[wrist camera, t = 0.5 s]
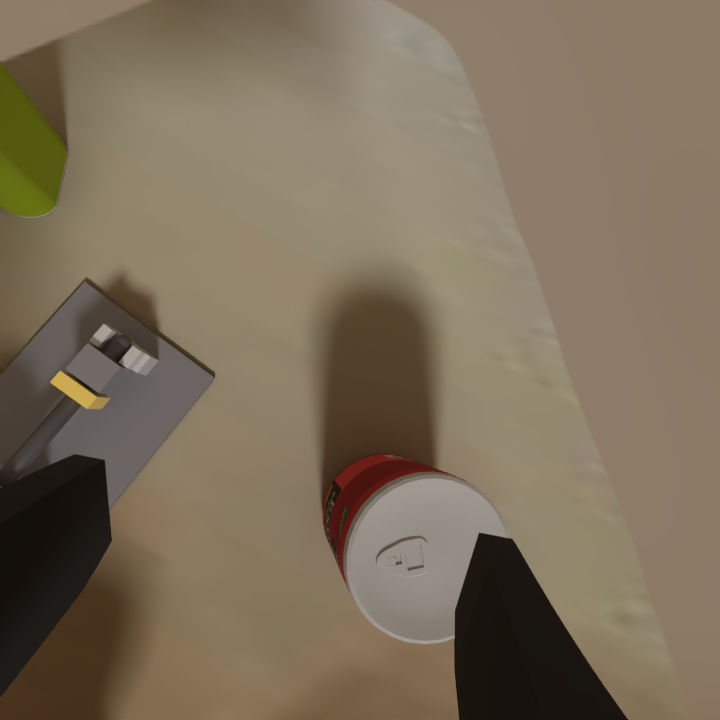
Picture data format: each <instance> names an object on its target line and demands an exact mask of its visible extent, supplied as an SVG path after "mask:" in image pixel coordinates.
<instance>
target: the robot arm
mask: <svg viewBox="0 0 720 720" xmlns="http://www.w3.org/2000/svg"><path fill="white" fill-rule="evenodd" d="M111 541H112V538H111V526H110V514H109V502H108V491H107V479H106V467H105V460H103V459H98V458H93V457H88V456H82V455H77V454H74V455H71V456H69V457H67V458H64V459H62V460H59V461H57V462H55V463H53V464H51V465H48V466H46V467H44V468H42V469H40V470H38V471H35V472H33V473H31V474H29V475H27V476H25V477H23V478H21V479H19V480H16V481H14V482H12V483H10V484H8V485H6V486H4V487H2V488H0V697H1V696H2V694H3V693H4V692H5V691H6V689H7V688H8V687H9V685H10V684H11V683H12V681H13V680H14V679H15V678H16V676H17V675H18V674H19V672H20V671H21V670H22V669H23V667H24V666H25V665H26V663H27V662H28V661H29V660H30V658H31V657H32V656H33V654H34V653H35V652H36V650H37V649H38V648H39V647H40V645H41V644H42V643H43V641H44V640H45V639H46V638H47V636H48V635H49V634H50V632H51V631H52V630H53V628H54V627H55V626H56V625H57V623H58V622H59V621H60V619H61V618H62V617H63V615H64V614H65V613H66V611H67V610H68V609H69V607H70V606H71V605H72V604H73V602H74V601H75V600H76V598H77V597H78V595H79V594H80V593H81V591H82V590H83V588H84V587H85V585H86V584H87V582H88V580H89V579H90V577H91V575H92V574H93V572H94V571H95V569H96V567H97V566H98V564H99V562H100V560H101V559H102V557H103V555H104V553H105V552H106V550H107V548H108V547H109V545H110V543H111ZM454 646H455V679H456V690H457V700H458V710H459V720H628V719H627V718H626V716H625V715H624V713H623V712H622V711H621V709H620V708H619V706H618V705H617V704H616V702H615V701H614V699H613V698H612V696H611V695H610V694H609V692H608V691H607V689H606V688H605V687H604V685H603V684H602V682H601V681H600V679H599V678H598V676H597V675H596V673H595V672H594V670H593V669H592V667H591V666H590V664H589V663H588V662H587V660H586V658H585V657H584V655H583V654H582V652H581V651H580V649H579V648H578V646H577V644H576V643H575V641H574V640H573V638H572V637H571V635H570V634H569V632H568V631H567V629H566V627H565V626H564V624H563V623H562V621H561V619H560V618H559V616H558V615H557V613H556V611H555V610H554V608H553V607H552V605H551V603H550V602H549V600H548V598H547V597H546V595H545V593H544V592H543V590H542V588H541V587H540V585H539V583H538V581H537V580H536V578H535V576H534V575H533V573H532V571H531V569H530V568H529V566H528V564H527V563H526V561H525V559H524V557H523V556H522V554H521V552H520V550H519V549H518V547H517V545H516V544H515V542H514V541H513V539H510V538H505V537H500V536H495V535H490V534H484V533H479V534H478V537H477V540H476V544H475V547H474V550H473V553H472V557H471V560H470V563H469V566H468V570H467V573H466V576H465V579H464V583H463V586H462V589H461V592H460V596H459V599H458V602H457V605H456V609H455V641H454Z"/></svg>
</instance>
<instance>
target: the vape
mask: <svg viewBox="0 0 720 720" xmlns="http://www.w3.org/2000/svg"><path fill="white" fill-rule="evenodd" d="M67 157H68V150H67V147H66V145H65V144H64V142H63V141H62V140H61V138H60V137H59V136H58V135H57V133H56V132H55V131H54V129H53V128H52V127H51V126H50V124H49V123H48V122H47V121H46V119H45V118H44V117H43V115H42V114H41V113H40V112H39V110H38V109H37V108H36V106H35V105H34V104H33V103H32V101H31V100H30V99H29V97H28V96H27V95H26V94H25V92H24V91H23V90H22V89H21V87H20V86H19V85H18V83H17V82H16V81H15V80H14V78H13V77H12V76H11V74H10V73H9V72H8V71H7V69H6V68H5V67H4V65H3V64H2V63H1V62H0V207H1V208H2V209H4V210H5V211H7V212H8V213H11V214H13V215H16V216H19V217H25V218H37V217H42V216H45V215H48V214H50V213H51V212H53V211H54V210H55V209H56V207H57V206H58V201H59V197H60V192H61V187H62V182H63V177H64V172H65V167H66V162H67Z"/></svg>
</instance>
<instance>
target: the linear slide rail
mask: <svg viewBox="0 0 720 720" xmlns="http://www.w3.org/2000/svg"><path fill="white" fill-rule="evenodd" d="M214 379H215V378H214V377H213V376H212V375H210V374H209V373H208V372H206V371H205V370H203V369H202V368H201V367H199V366H198V365H197V364H195V363H194V362H193V361H191V360H190V359H189V358H187V357H186V356H185V355H183V354H182V353H181V352H179V351H178V350H177V349H175V348H174V347H172V346H171V345H170V344H168V343H167V342H166V341H164V340H163V339H162V338H160V337H159V336H158V335H156V334H155V333H154V332H152V331H151V330H150V329H148V328H147V327H146V326H144V325H143V324H141V323H140V322H139V321H137V320H136V319H135V318H133V317H132V316H131V315H129V314H128V313H127V312H125V311H124V310H123V309H121V308H120V307H119V306H117V305H116V304H115V303H113V302H112V301H110V300H109V299H108V298H106V297H105V296H104V295H102V294H101V293H100V292H98V291H97V290H96V289H94V288H93V287H92V286H90V285H89V284H88V283H86V282H84V283H83V284H82V285H81V286H80V287H79V288H78V289H77V290H76V292H75V293H74V294H73V295H72V296H71V297H70V298H69V299H68V300H67V302H66V303H65V304H64V305H63V306H62V307H61V308H60V309H59V310H58V312H57V313H56V314H55V315H54V316H53V317H52V318H51V319H50V320H49V322H48V323H47V324H46V325H45V326H44V327H43V328H42V329H41V330H40V332H39V333H38V334H37V335H36V336H35V337H34V338H33V339H32V340H31V342H30V343H29V344H28V345H27V346H26V347H25V348H24V349H23V350H22V352H21V353H20V354H19V355H18V356H17V357H16V358H15V359H14V360H13V362H12V363H11V364H10V365H9V366H8V367H7V368H6V369H5V370H4V372H3V373H2V374H1V375H0V464H2V465H3V466H4V467H3V468H2V469H1V470H0V486H1V487H4V486H6V485H8V484H10V483H12V482H14V481H16V480H18V479H19V478H23V477H25V476H27V475H29V474H31V473H33V472H35V471H38V470H40V469H42V468H44V467H46V466H48V465H51V464H53V463H55V462H57V461H59V460H62V459H64V458H67V457H69V456H71V455H74V454H77V455H82V456H88V457H93V458H98V459H103V460H105V467H106V479H107V491H108V502H109V510H110V508H111V507H112V506H113V505H114V503H115V502H116V501H117V500H118V498H119V497H120V496H121V495H122V493H123V492H124V491H125V490H126V488H127V487H128V486H129V485H130V483H131V482H132V481H133V480H134V478H135V477H136V476H137V475H138V473H139V472H140V471H141V470H142V468H143V467H144V466H145V465H146V464H147V462H148V461H149V460H150V459H151V457H152V456H153V455H154V454H155V452H156V451H157V450H158V449H159V447H160V446H161V445H162V444H163V442H164V441H165V440H166V439H167V437H168V436H169V435H170V434H171V432H172V431H173V430H174V429H175V427H176V426H177V425H178V424H179V422H180V421H181V420H182V419H183V417H184V416H185V415H186V414H187V412H188V411H189V410H190V409H191V407H192V406H193V405H194V404H195V402H196V401H197V400H198V399H199V397H200V396H201V395H202V394H203V393H204V391H205V390H206V389H207V388H208V386H209V385H210V384H211V383H212V381H213V380H214Z"/></svg>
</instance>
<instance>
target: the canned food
mask: <svg viewBox="0 0 720 720" xmlns="http://www.w3.org/2000/svg"><path fill="white" fill-rule="evenodd" d="M323 525H324V530H325V535H326V537H327V540H328V542H329V544H330V547H331V549H332V552H333V554H334V557H335V559H336V562H337V564H338V566H339V569H340V571H341V574H342V576H343V579H344V581H345V583H346V585H347V588H348V590H349V592H350V594H351V596H352V598H353V600H354V602H355V603H356V605H357V606H358V608H359V609H360V610H361V612H362V613H363V614H364V615H365V617H366V618H367V619H368V620H369V621H370V622H371V623H372V624H374V625H375V626H376V627H377V628H378V629H379V630H381V631H383V632H384V633H386V634H388V635H390V636H391V637H393V638H396V639H400V640H403V641H406V642H409V643H420V644H430V643H439V642H444V641H447V640H450V639H453V638H455V609H456V605H457V602H458V599H459V596H460V592H461V589H462V586H463V583H464V579H465V576H466V573H467V570H468V566H469V563H470V560H471V557H472V553H473V550H474V547H475V544H476V540H477V537H478V534H479V533H484V534H490V535H495V536H500V537H505V538H509V535H508V531H507V527H506V525H505V523H504V521H503V518H502V516H501V514H500V512H499V511H498V510H497V508H496V507H495V505H494V504H493V503H492V501H491V500H490V499H489V498H488V497H487V496H486V495H485V494H484V493H482V492H481V491H480V490H479V489H477V488H476V487H475V486H473V485H472V484H470V483H468V482H467V481H465V480H463V479H461V478H458V477H456V476H454V475H451V474H449V473H446V472H443V471H441V470H438V469H435V468H432V467H429V466H426V465H424V464H421V463H418V462H415V461H412V460H410V459H407V458H404V457H401V456H397V455H391V454H379V455H373V456H368V457H365V458H362V459H360V460H358V461H356V462H354V463H352V464H351V465H350V466H348V467H347V468H345V469H344V470H343V471H342V472H341V473H340V474H339V475H338V476H337V477H336V479H335V480H334V482H333V483H332V485H331V487H330V488H329V491H328V493H327V496H326V498H325V502H324V507H323Z"/></svg>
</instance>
